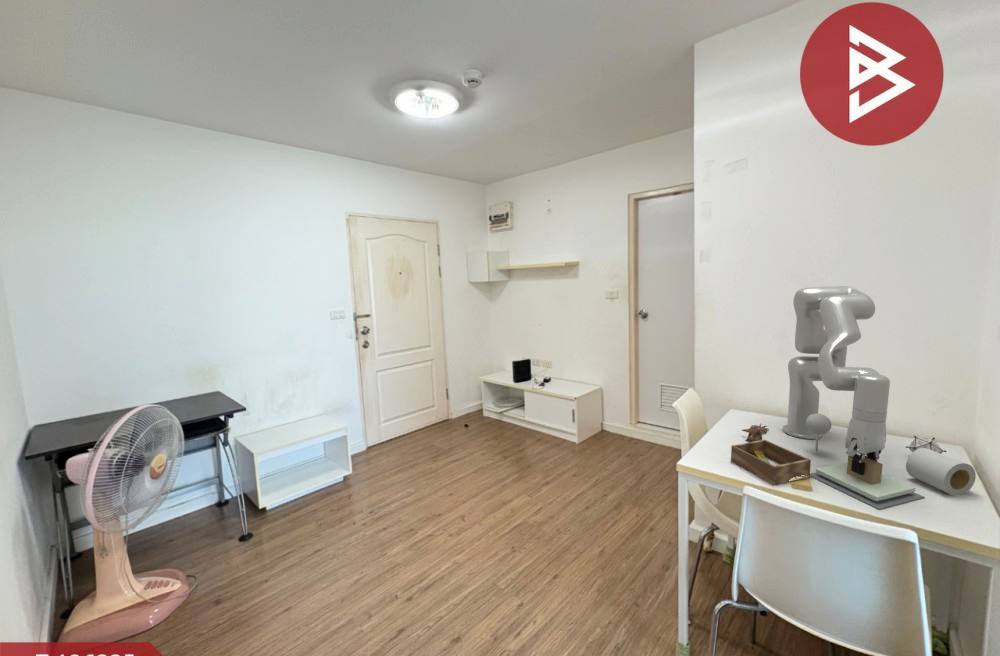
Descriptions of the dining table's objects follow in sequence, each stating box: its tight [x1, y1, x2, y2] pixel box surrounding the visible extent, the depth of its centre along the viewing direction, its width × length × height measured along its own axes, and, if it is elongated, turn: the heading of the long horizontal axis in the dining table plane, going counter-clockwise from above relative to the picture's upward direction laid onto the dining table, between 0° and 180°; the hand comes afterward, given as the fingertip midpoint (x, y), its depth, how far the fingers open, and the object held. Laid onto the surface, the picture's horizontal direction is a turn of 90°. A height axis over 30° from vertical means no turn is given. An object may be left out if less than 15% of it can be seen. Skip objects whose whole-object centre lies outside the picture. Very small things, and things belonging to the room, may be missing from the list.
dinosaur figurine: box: [741, 423, 770, 443], centre depth 153 cm, size 14×6×9 cm, turn 173°
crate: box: [730, 439, 812, 486], centre depth 134 cm, size 15×17×6 cm
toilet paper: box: [905, 448, 977, 497], centre depth 119 cm, size 10×10×10 cm
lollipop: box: [806, 413, 832, 455], centre depth 142 cm, size 7×7×15 cm
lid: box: [815, 453, 916, 501], centre depth 121 cm, size 15×17×8 cm
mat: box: [810, 471, 925, 511], centre depth 122 cm, size 18×20×1 cm
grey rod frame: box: [905, 435, 948, 454], centre depth 135 cm, size 9×8×10 cm
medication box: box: [753, 451, 771, 464], centre depth 135 cm, size 12×3×4 cm, turn 162°
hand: (863, 471), depth 121 cm, fingers open, 4 cm apart
